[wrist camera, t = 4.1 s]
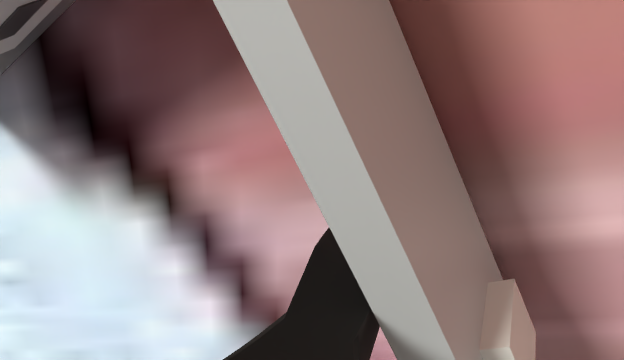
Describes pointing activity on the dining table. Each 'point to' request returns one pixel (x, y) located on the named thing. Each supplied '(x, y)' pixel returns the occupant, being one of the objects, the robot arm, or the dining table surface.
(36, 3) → the grey switch box
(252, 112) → the dining table surface
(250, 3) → the side door
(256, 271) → the dining table surface
